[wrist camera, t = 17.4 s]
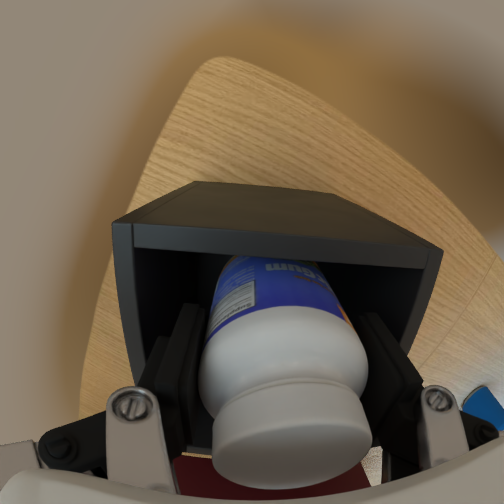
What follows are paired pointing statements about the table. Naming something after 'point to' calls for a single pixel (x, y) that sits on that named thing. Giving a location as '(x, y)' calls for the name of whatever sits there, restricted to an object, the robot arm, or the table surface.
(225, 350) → the pill bottle
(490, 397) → the beverage can
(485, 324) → the table surface
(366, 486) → the keepsake box lid
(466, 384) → the table surface
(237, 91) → the table surface
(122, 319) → the dark gray box
